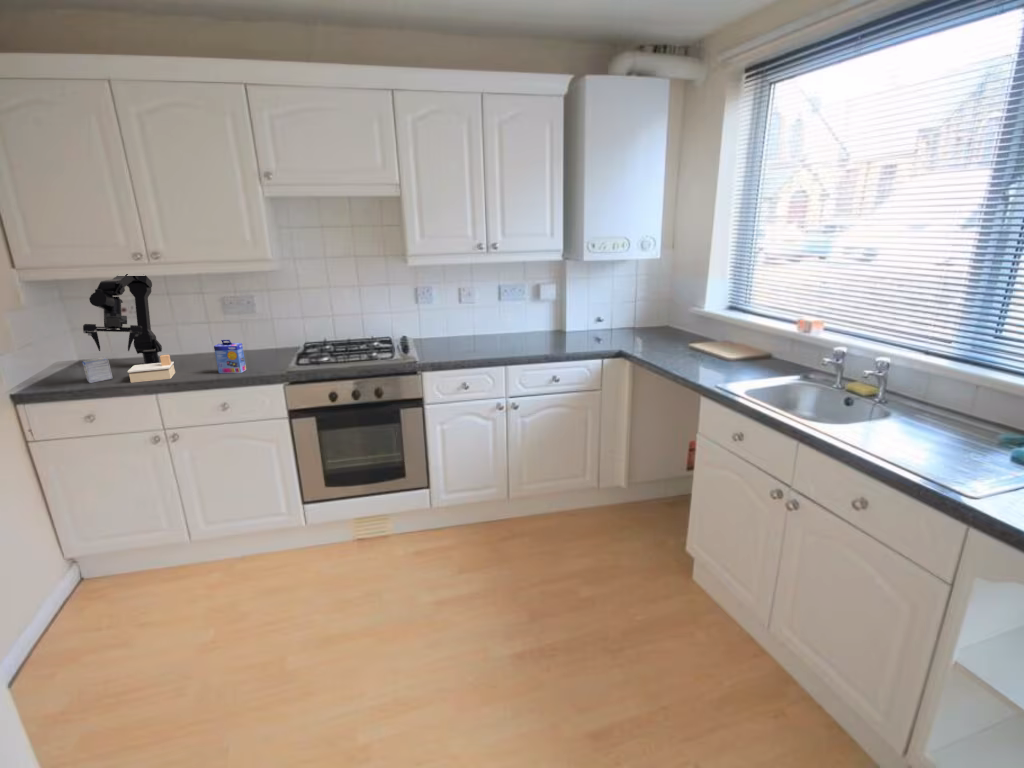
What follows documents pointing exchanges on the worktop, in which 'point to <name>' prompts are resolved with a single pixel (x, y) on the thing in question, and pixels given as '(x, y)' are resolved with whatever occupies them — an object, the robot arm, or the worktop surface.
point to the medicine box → (97, 370)
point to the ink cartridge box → (230, 357)
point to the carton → (152, 375)
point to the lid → (153, 365)
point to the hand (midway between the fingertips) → (114, 350)
